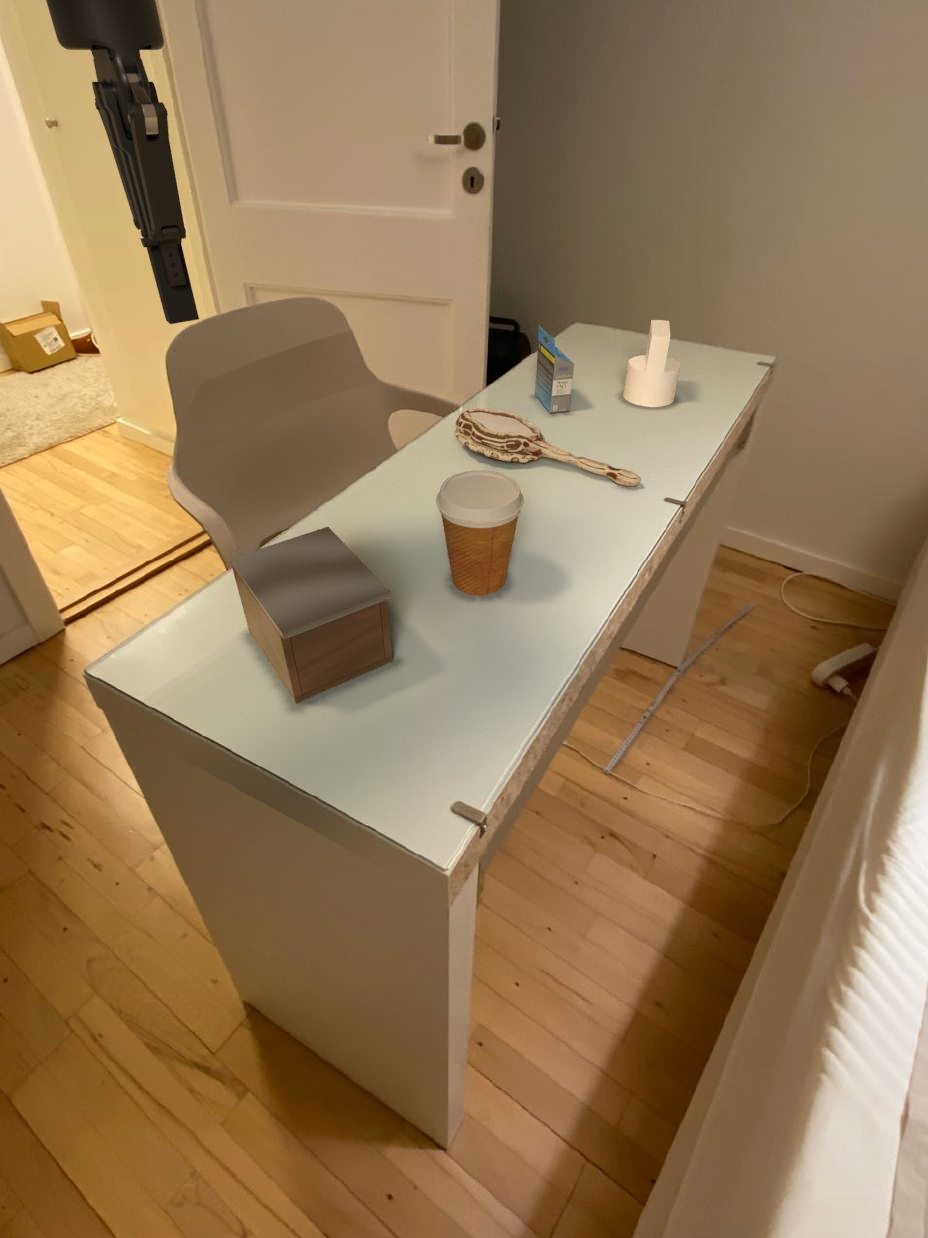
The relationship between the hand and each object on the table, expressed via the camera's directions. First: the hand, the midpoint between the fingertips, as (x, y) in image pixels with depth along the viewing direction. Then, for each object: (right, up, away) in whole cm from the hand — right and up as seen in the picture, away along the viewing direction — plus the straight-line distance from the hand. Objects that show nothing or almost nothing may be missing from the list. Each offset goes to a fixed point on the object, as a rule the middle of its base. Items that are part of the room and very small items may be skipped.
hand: (182, 319), depth 65 cm
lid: (+12, -25, +1) cm, 27 cm away
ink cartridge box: (+42, +10, +56) cm, 71 cm away
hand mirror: (+39, -5, +39) cm, 55 cm away
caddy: (+12, -31, +7) cm, 34 cm away
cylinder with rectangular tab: (+60, +12, +58) cm, 85 cm away
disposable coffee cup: (+28, -24, +16) cm, 40 cm away
